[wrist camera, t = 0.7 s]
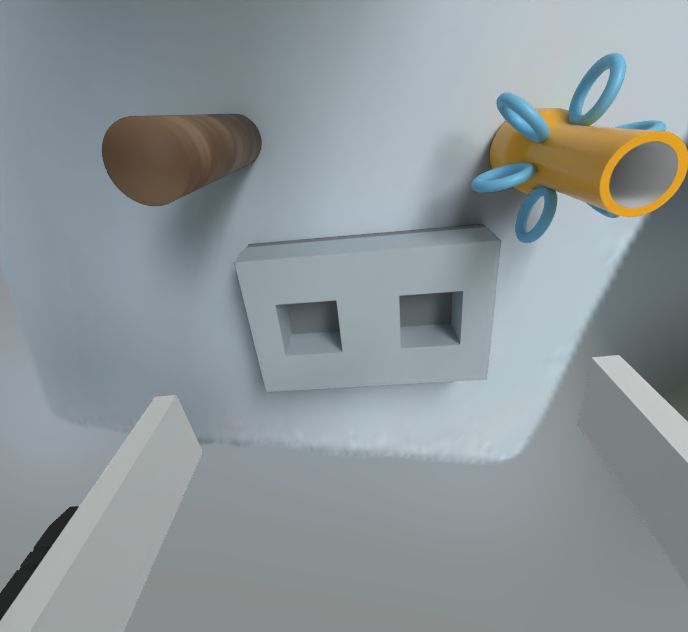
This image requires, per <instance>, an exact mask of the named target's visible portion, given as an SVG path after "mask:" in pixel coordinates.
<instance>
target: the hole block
mask: <svg viewBox="0 0 688 632" xmlns="http://www.w3.org/2000/svg"><path fill="white" fill-rule="evenodd" d="M500 245H501V240H500V239H499V238H498V237H497V236H496V235H495V234H493V233H492V232H491V231H490V230H489V229H488V228H487V227H486V226H485V225H483V224H477V225H466V226H454V227H443V228H431V229H419V230H408V231H396V232H385V233H373V234H361V235H350V236H338V237H327V238H315V239H303V240H292V241H280V242H269V243H257V244H249V245H248V246H247V247H246V249H245V250H244V251H243V252H242V253H241V255H240V256H239V257H238V258H237V260H236V261H235V262H234V263H235V268H236V272H237V276H238V280H239V284H240V288H241V292H242V296H243V300H244V304H245V308H246V312H247V316H248V320H249V324H250V328H251V332H252V336H253V341H254V345H255V349H256V353H257V357H258V361H259V365H260V369H261V373H262V377H263V381H264V385H265V389H266V392H276V391H294V390H311V389H329V388H347V387H364V386H382V385H399V384H417V383H435V382H452V381H470V380H487V374H488V364H489V354H490V344H491V334H492V325H493V315H494V305H495V295H496V285H497V275H498V265H499V255H500Z"/></svg>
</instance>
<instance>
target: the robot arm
mask: <svg viewBox="0 0 688 632" xmlns="http://www.w3.org/2000/svg"><path fill="white" fill-rule="evenodd" d="M578 426H579V428H580V429H581V431H582V432H583V434H584V435H585V437H586V438H587V440H588V441H589V442H590V444H591V445H592V447H593V448H594V450H595V451H596V453H597V454H598V456H599V457H600V459H601V460H602V462H603V463H604V464H605V466H606V468H607V469H608V470H609V472H610V474H611V475H612V476H613V478H614V479H615V481H616V482H617V484H618V485H619V487H620V488H621V490H622V491H623V493H624V494H625V496H626V497H627V499H628V500H629V502H630V503H631V505H632V506H633V507H634V509H635V510H636V512H637V513H638V515H639V516H640V518H641V519H642V521H643V522H644V524H645V525H646V527H647V528H648V530H649V531H650V533H651V534H652V536H653V537H654V538H655V540H656V541H657V543H658V544H659V546H660V547H661V549H662V550H663V552H664V553H665V555H666V556H667V558H668V559H669V561H670V562H671V563H672V565H673V567H674V568H675V569H676V571H677V572H678V574H679V575H680V577H681V578H682V580H683V581H684V583H685V584H686V586H687V587H688V422H687V421H686V420H685V419H684V418H683V417H682V416H681V415H680V414H679V413H678V412H677V411H676V410H675V409H674V408H672V407H671V405H670V404H669V403H668V402H667V401H665V400H664V399H663V398H662V397H661V396H660V395H659V394H658V393H657V392H656V391H655V390H654V389H653V388H652V387H651V386H650V385H649V384H648V383H647V382H646V381H645V380H644V379H643V378H642V377H641V376H640V375H639V374H638V373H637V372H636V371H635V370H634V369H633V368H632V367H631V366H630V365H629V364H628V363H627V362H626V361H625V360H623V359H622V358H621V357H620V356H619V355H615V356H604V357H593V358H592V360H591V364H590V369H589V373H588V378H587V382H586V387H585V392H584V396H583V401H582V405H581V410H580V414H579V420H578ZM202 453H203V451H202V449H201V447H200V445H199V442H198V440H197V438H196V436H195V434H194V432H193V429H192V427H191V425H190V423H189V421H188V419H187V417H186V414H185V412H184V410H183V408H182V406H181V404H180V401H179V399H178V397H177V395H170V396H159V397H154V399H153V400H152V402H151V403H150V405H149V406H148V408H147V409H146V410H145V412H144V413H143V415H142V416H141V418H140V419H139V421H138V422H137V424H136V425H135V426H134V428H133V429H132V431H131V432H130V434H129V435H128V437H127V438H126V439H125V441H124V442H123V444H122V445H121V447H120V448H119V450H118V451H117V453H116V454H115V455H114V457H113V458H112V460H111V461H110V463H109V464H108V466H107V467H106V469H105V470H104V471H103V473H102V474H101V476H100V477H99V479H98V480H97V482H96V483H95V484H94V486H93V488H92V489H91V490H90V492H89V493H88V495H87V496H86V498H85V499H84V501H83V502H82V503H81V505H80V506H76V507H69V508H68V509H67V510H66V511H65V512H64V513H63V514H62V515H61V516H60V517H59V518H58V519H56V520H55V521H54V522H53V523H52V524H51V525H50V526H49V527H48V529H47V530H46V531H45V533H44V534H43V535H42V537H41V538H40V540H39V541H38V542H37V544H36V545H35V546H34V550H33V552H30V553H29V555H28V556H27V558H26V559H25V560H24V561H23V563H22V564H21V568H20V570H17V571H16V572H15V574H14V575H13V577H12V578H11V579H10V581H9V582H8V583H7V585H6V586H5V588H4V589H3V590H2V592H1V593H0V632H123V631H124V629H125V627H126V624H127V622H128V620H129V618H130V615H131V613H132V611H133V609H134V606H135V604H136V602H137V600H138V597H139V595H140V593H141V591H142V588H143V586H144V584H145V582H146V579H147V577H148V575H149V572H150V570H151V568H152V566H153V564H154V561H155V559H156V557H157V555H158V552H159V550H160V548H161V546H162V543H163V541H164V539H165V536H166V534H167V532H168V530H169V527H170V525H171V523H172V521H173V518H174V516H175V514H176V511H177V509H178V507H179V505H180V503H181V500H182V498H183V496H184V494H185V492H186V489H187V487H188V485H189V482H190V480H191V478H192V476H193V473H194V471H195V469H196V467H197V464H198V462H199V460H200V458H201V455H202Z"/></svg>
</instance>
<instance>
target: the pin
mask: <svg viewBox="0 0 688 632" xmlns="http://www.w3.org/2000/svg"><path fill="white" fill-rule="evenodd" d="M260 150H261V136H260V133H259V130H258V128H257V127H256V125H255V124H254V123H253V122H252V121H251V120H250V119H249V118H247V117H245V116H243V115H240V114H208V115H164V116H129V117H124V118H122V119H119V120H118V121H116V122H114V123H113V124H112V125H111V126H110V127H109V129H108V130H107V132H106V134H105V136H104V139H103V144H102V157H103V162H104V165H105V168H106V170H107V173H108V175H109V176H110V178H111V180H112V181H113V183H114V184H115V185H116V186H117V188H118V189H119V190H120V191H121V192H122V193H124V194H125V195H126V196H127V197H129V198H131V199H132V200H134V201H136V202H138V203H141V204H144V205H148V206H162V205H166V204H169V203H171V202H173V201H175V200H177V199H179V198H181V197H183V196H185V195H187V194H189V193H191V192H193V191H195V190H197V189H199V188H201V187H203V186H205V185H207V184H209V183H211V182H214V181H216V180H218V179H220V178H222V177H224V176H226V175H228V174H230V173H232V172H234V171H236V170H238V169H240V168H242V167H244V166H246V165H248V164H250V163H252V162H253V161H254V160H255V159H256V158H257V157H258V155H259V153H260Z"/></svg>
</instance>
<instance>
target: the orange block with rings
mask: <svg viewBox="0 0 688 632" xmlns="http://www.w3.org/2000/svg"><path fill="white" fill-rule="evenodd" d="M608 68H610V76H609V80H608V82H607V85H606V87H605V89H604V91H603V93H602V95H601V97H600V98H599V100H598V101H597V103H596V104H595V105H594V106H593V107H592V109H591V110H590V111H589V112H587V113H586V114H585V115H583V116H582V106H583V103H584V100H585V97H586V95H587V93H588V91H589V90H590V88H591V86H592V85H593V83H594V82H595V81H596V79H597V78H598V77H599V76H600V75H601V74H602V73H603V72H604V71H605V70H607V69H608ZM625 72H626V62H625V59H624V57H623V56H622V55H621V54H618V53H611V54H608V55H606V56H604V57H602V58H601V59H600V60H598V61H597V62H596V63H595V64H594V65H593V66H592V67H591V68H590V69H589V71H588V72H587V73H586V74H585V76H584V77H583V79H582V80H581V82H580V84H579V85H578V87H577V89H576V91H575V93H574V95H573V98H572V100H571V103H570V107H569V111H568V110H564V109H557V108H545V109H534V108H533V107H532V106H531V105H530V104H528V103H527V102H526V101H525V100H523V99H522V98H520V97H518V96H516V95H514V94H512V93H503V94H501V95H500V96H499V97H498V99H497V108H498V110H499V112H500V113H501V115H502V116H503V117H504V118H505V120H506V121H505V122H504V123H503V125H502V126H501V127H500V128H499V130H498V131H497V133H496V134H495V136H494V138H493V141H492V144H491V148H490V165H491V168H492V170H489V171H487V172H484V173H482V174H480V175H478V176H477V177H476V178H474V179H473V181H472V183H471V188H472V189H473V190H474V191H476V192H480V193H488V192H495V191H500V190H505V189H508V188H514V189H516V190H518V191H520V192H523V193H526V194H529V195H528V196H527V197H526V199H525V200H524V202H523V204H522V206H521V208H520V210H519V213H518V215H517V219H516V225H515V232H516V236H517V238H518V239H519V240H520V241H521V242H523V243H531V242H533V241H535V240H537V239H538V238H539V237H541V236H542V235H543V233H544V232H545V231H546V230H547V228H548V227H549V225H550V223H551V221H552V219H553V217H554V214H555V211H556V207H557V194H556V191H558V192H560V193H563V194H566V195H568V196H571V197H573V198H576V199H578V200H581V201H583V202H586V203H587V204H588V205H589V206H591V207H592V208H593V209H595V210H596V211H598V212H599V213H601V214H603V215H605V216H607V217H610V218H616V217H619V216H623V217H636V216H641V215H644V214H647V213H649V212H651V211H653V210H655V209H657V208H659V207H660V206H661V205H663V204H664V203H665V202H667V200H669V199H670V198H671V197H672V196H673V195H674V193H675V192H676V191H677V190H678V188H679V187H680V185H681V183H682V181H683V180H684V177H685V175H686V172H687V168H688V151H687V148H686V146H685V144H684V142H683V141H682V140H681V139H680V138H679V137H678V136H676V135H675V134H673V133H670V132H666V131H665V129H666V125H665V124H664V123H663V122H661V121H642V122H636V123H631V124H627V125H622V126H619V127H615V128H609V127H594V126H590V125H591V124H593V123H594V122H596V121H597V120H598V119H599V118H600V117H601V116H602V115H603V114H604V113H605V112H606V110H607V109H608V108H609V107H610V105H611V104H612V102H613V101H614V99H615V97H616V96H617V94H618V92H619V90H620V88H621V85H622V83H623V80H624V77H625ZM495 179H496V180H495ZM542 196H544V199H545V203H544V209H543V212H542V215H541V217H540V219H539V221H538V223H537V224H536V226H535V227H534V228H533V229H532V230H531V231H530V232H528V233H527V230H526V223H527V219H528V216H529V213H530V211H531V209H532V207H533V205H534V204H535V203H536V201H537V200H538V199H539V198H540V197H542Z"/></svg>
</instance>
